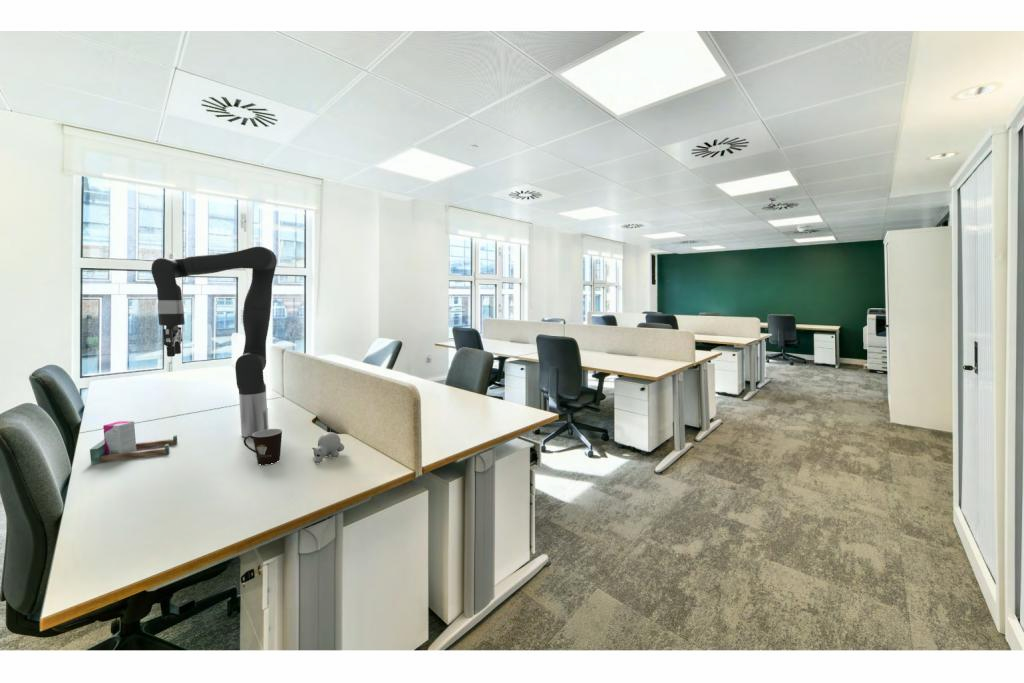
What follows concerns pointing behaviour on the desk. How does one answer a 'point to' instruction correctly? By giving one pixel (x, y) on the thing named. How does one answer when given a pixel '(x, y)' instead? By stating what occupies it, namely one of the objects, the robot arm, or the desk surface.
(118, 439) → the supplement box
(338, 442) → the chubby cartoon animal
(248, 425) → the robot arm
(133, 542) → the desk surface
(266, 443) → the coffee mug
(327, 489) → the desk surface
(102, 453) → the guide lane
